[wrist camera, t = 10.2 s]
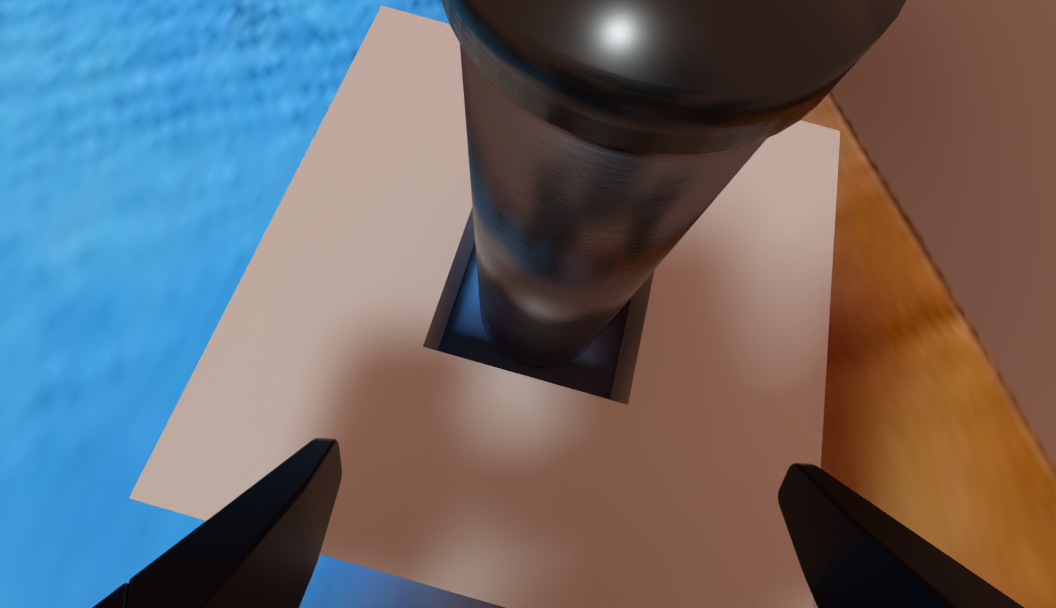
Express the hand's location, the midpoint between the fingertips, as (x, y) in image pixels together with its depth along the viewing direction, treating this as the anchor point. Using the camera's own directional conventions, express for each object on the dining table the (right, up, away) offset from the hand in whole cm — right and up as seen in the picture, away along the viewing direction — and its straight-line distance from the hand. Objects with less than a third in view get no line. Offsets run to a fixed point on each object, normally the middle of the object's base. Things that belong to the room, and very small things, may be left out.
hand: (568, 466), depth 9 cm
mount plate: (0, +3, +10) cm, 11 cm away
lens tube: (0, +3, +10) cm, 11 cm away
